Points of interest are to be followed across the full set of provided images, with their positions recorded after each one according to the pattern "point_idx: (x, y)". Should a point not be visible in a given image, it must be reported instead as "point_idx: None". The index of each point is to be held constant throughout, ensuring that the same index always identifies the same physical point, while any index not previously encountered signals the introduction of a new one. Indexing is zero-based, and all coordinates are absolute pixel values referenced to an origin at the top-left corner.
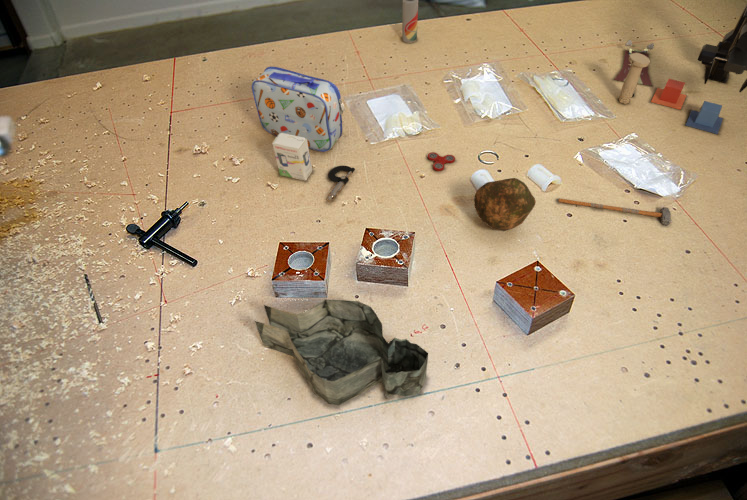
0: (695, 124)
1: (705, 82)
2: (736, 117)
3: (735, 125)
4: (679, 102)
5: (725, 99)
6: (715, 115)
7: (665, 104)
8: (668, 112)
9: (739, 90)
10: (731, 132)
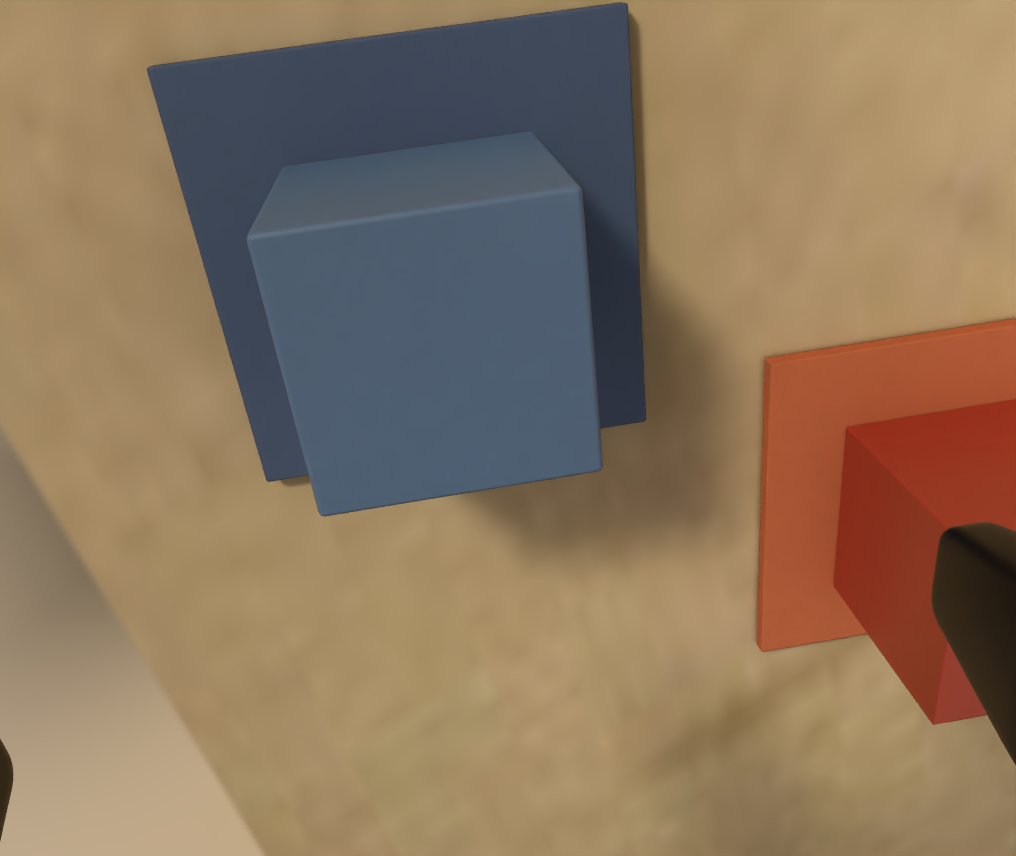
0: (507, 97)
1: (1007, 539)
2: (158, 601)
3: (79, 444)
4: (808, 481)
5: (395, 808)
6: (302, 210)
7: (961, 339)
8: (893, 204)
9: (10, 767)
10: (28, 252)
